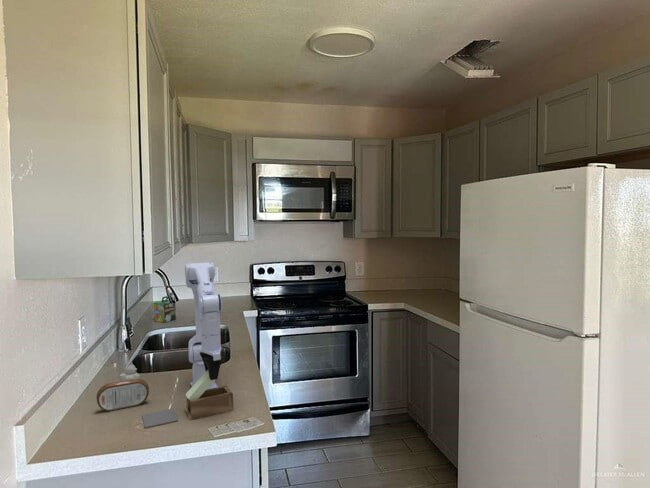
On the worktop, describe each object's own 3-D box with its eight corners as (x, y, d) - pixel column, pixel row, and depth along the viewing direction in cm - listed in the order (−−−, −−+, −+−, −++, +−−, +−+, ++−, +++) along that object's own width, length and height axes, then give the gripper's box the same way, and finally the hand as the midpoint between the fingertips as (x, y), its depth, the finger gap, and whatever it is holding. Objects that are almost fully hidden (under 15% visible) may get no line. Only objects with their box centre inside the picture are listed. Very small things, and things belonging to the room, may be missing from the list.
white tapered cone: (138, 385, 152) (137, 363, 151) (118, 387, 150) (117, 365, 149) (141, 379, 157) (140, 358, 156) (121, 381, 155) (120, 360, 155)
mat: (142, 415, 127) (142, 414, 127) (173, 409, 131) (173, 408, 131) (144, 428, 119) (144, 427, 119) (178, 421, 124) (178, 419, 123)
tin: (149, 400, 138) (148, 375, 138) (150, 404, 136) (149, 378, 135) (97, 410, 131) (95, 384, 131) (96, 414, 128) (95, 387, 128)
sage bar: (191, 398, 129) (185, 394, 128) (214, 372, 133) (209, 368, 132) (193, 403, 126) (188, 398, 125) (217, 376, 129) (212, 371, 128)
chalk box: (165, 318, 258) (164, 294, 258) (176, 319, 254) (175, 295, 253) (153, 321, 250) (152, 296, 249) (164, 323, 246) (163, 298, 245)
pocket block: (184, 410, 130) (184, 393, 130) (226, 401, 136) (226, 385, 136) (189, 420, 124) (188, 402, 124) (233, 410, 130) (232, 393, 130)
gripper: (192, 330, 134) (193, 372, 135) (202, 341, 121) (204, 387, 122) (214, 327, 137) (215, 368, 138) (227, 337, 125) (228, 382, 125)
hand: (212, 376), depth 130 cm, fingers closed on sage bar, 4 cm apart
